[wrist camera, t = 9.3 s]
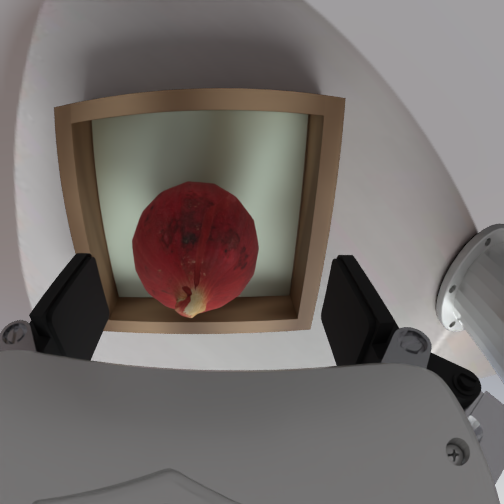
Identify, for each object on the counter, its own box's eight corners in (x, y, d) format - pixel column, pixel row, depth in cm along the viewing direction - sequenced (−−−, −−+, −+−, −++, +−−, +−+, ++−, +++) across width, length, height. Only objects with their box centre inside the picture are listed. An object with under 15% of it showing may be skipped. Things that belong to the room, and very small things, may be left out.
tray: (322, 97, 15) (345, 98, 12) (298, 297, 22) (310, 329, 19) (83, 103, 14) (54, 107, 11) (113, 298, 20) (99, 330, 17)
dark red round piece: (148, 164, 15) (100, 222, 8) (253, 170, 16) (292, 232, 9) (148, 258, 18) (122, 357, 11) (241, 262, 19) (263, 361, 12)
